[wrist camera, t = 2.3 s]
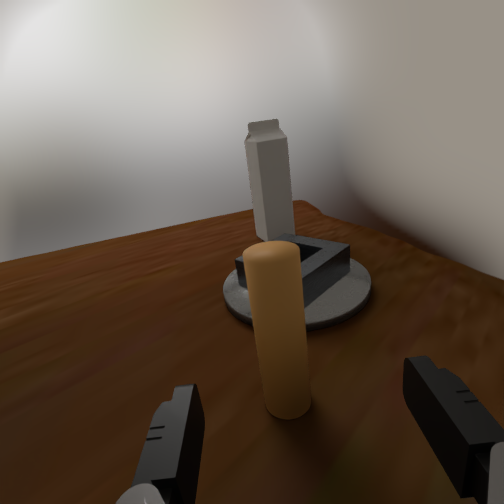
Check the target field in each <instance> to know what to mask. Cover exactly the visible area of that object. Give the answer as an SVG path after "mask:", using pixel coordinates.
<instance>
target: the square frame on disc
mask: <svg viewBox="0 0 504 504" xmlns="http://www.w3.org/2000/svg"><path fill="white" fill-rule="evenodd" d="M271 241H287V242H292V243H294V244H296V245H298V246H299V249H300V261H301V274H302V287H303V300H304V312H305V325H306V331H311V330H317V329H322V328H326V327H330V326H333V325H336V324H338V323H341V322H343V321H345V320H347V319H349V318H351V317H353V316H354V315H356V314H357V313H358V312H360V311H361V310H362V309H363V308H364V307H365V305H366V304H367V302H368V300H369V298H370V294H371V278H370V275H369V273H368V271H367V270H366V269H365V268H364V267H363V266H362V265H361V264H360V263H358V262H357V261H355V260H353V259H351V258H350V245H349V244H343V243H338V242H332V241H326V240H321V239H315V238H309V237H304V236H298V235H292V234H287V233H284V234H283V235H281V236H279V237H277V238H275V239H273V240H271ZM235 264H236V269H235V270H234V271H233V272H232V273H231V274H230V275H229V276H228V277H227V279H226V281H225V283H224V286H223V293H224V298H225V303H226V306H227V308H228V310H229V311H230V312H231V313H232V314H233V315H234V316H235V317H236V318H238V319H239V320H241V321H243V322H244V323H246V324H249V325H252V326H253V320H252V314H251V307H250V301H249V294H248V287H247V281H246V274H245V268H244V261H243V255H242V256H240V257H239V258H237V259H235Z"/></svg>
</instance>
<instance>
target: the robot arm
mask: <svg viewBox="0 0 504 504" xmlns="http://www.w3.org/2000/svg"><path fill="white" fill-rule="evenodd" d="M403 395H404V399H405V402H406V404H407V406H408V408H409V410H410V411H411V413H412V415H413V417H414V418H415V420H416V422H417V424H418V425H419V427H420V429H421V430H422V432H423V434H424V436H425V437H426V439H427V441H428V442H429V444H430V446H431V448H432V449H433V451H434V453H435V455H436V456H437V458H438V460H439V461H440V463H441V465H442V467H443V468H444V470H445V472H446V474H447V475H448V477H449V479H450V480H451V482H452V484H453V486H454V487H455V489H456V491H457V493H458V494H459V496H460V498H469V497H474V498H475V500H476V501H477V503H478V504H504V429H503V428H502V427H501V426H500V425H499V424H498V422H497V421H496V420H495V419H494V418H493V417H492V415H491V414H490V413H489V412H488V411H487V409H486V408H485V407H484V406H483V405H482V404H481V402H479V401H478V399H477V398H476V397H475V395H474V394H473V393H472V392H470V389H469V388H468V387H467V386H466V385H465V384H464V382H463V381H462V380H461V379H460V378H459V377H458V376H456V375H455V374H453V373H452V372H450V371H449V370H447V369H446V368H442V369H438V368H437V367H436V366H435V365H434V363H433V362H432V361H431V359H430V358H429V357H428V356H418V357H410V358H405V360H404V371H403ZM204 430H205V418H204V412H203V408H202V404H201V400H200V396H199V392H198V388H197V385H196V384H188V385H180V386H176V387H175V390H174V393H173V397H172V401H168V402H163V403H162V404H161V405H160V407H159V408H158V409H157V411H156V412H155V413H154V415H153V419H152V422H151V425H150V430H149V432H148V435H147V438H146V439H147V440H146V441H145V444H144V448H143V451H142V454H141V457H140V460H139V464H138V467H137V470H136V473H135V476H134V480H133V483H132V485H131V488H130V489H129V490H127V491H126V492H125V493H124V494H123V495H122V496H121V497H120V498H119V500H118V501H117V503H116V504H195V499H196V492H197V484H198V476H199V469H200V461H201V453H202V446H203V438H204Z"/></svg>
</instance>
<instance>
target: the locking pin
mask: <svg viewBox="0 0 504 504" xmlns="http://www.w3.org/2000/svg"><path fill="white" fill-rule="evenodd" d="M243 261H244V268H245V274H246V281H247V287H248V294H249V301H250V307H251V314H252V320H253V327H254V334H255V340H256V347H257V353H258V360H259V367H260V373H261V380H262V386H263V393H264V400H265V405H266V408H267V410H268V411H269V412H270V413H271V414H272V415H273V416H275V417H277V418H280V419H286V420H289V419H295V418H298V417H300V416H302V415H304V414H305V413H306V412H307V411H308V409H309V408H310V405H311V390H310V377H309V364H308V351H307V338H306V325H305V312H304V300H303V287H302V274H301V261H300V249H299V246H298V245H296V244H294V243H292V242H287V241H268V242H262V243H258V244H255V245H253V246H250V247H249V248H247V249H246V250H245V251H244V252H243Z"/></svg>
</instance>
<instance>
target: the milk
mask: <svg viewBox="0 0 504 504" xmlns="http://www.w3.org/2000/svg"><path fill="white" fill-rule="evenodd" d="M248 130H249V133H248V135H247V137H246V140H245V149H246V157H247V164H248V171H249V180H250V188H251V195H252V203H253V211H254V218H255V226H256V234H257V236H258V237H259V238H261V239H262V240H264V241H265V242H268V241H271V240H273V239H275V238H277V237H279V236H281V235H283V234H284V233H287V234H292V235H295V229H294V216H293V204H292V192H291V180H290V168H289V155H288V144H287V137H286V135H285V134H284V133H283V132H282V130H281V129H280V128H279V122H278V119H272V120H265V121H259V122H251V123H249V124H248Z"/></svg>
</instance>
